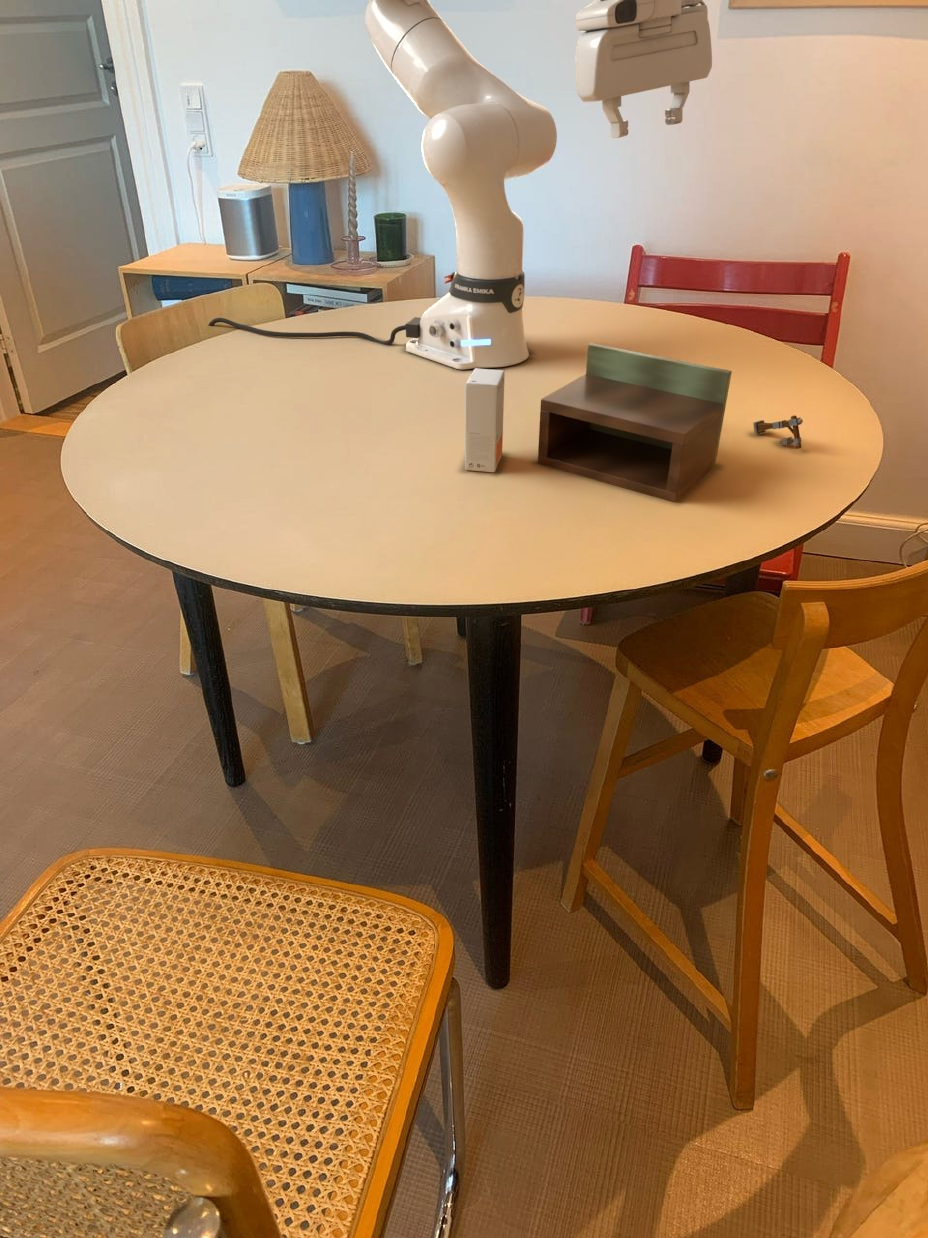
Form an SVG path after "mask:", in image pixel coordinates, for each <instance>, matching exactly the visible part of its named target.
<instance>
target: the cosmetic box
mask: <svg viewBox="0 0 928 1238" xmlns="http://www.w3.org/2000/svg"><path fill="white" fill-rule="evenodd" d="M505 373H506V371H505V370H502V369H491V368H490V369H489V368H473V371H472V372H471V373H470V375H469V376H468V378H467V381H466V382H465V394H464V398H465V399H464V402H465V403H464V405H465V406H464V408H465V410H464V415H465V416H464V469H465V470H466V471H475V472H486V473H495V472H496V470H497V468H498V465H499V463H500V460H501V459H502V456H503V440H504V439H503V438H504V435H503V434H504V411H505V409H504V407H505V404H504V402H505V375H506V374H505Z"/></svg>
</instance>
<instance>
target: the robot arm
mask: <svg viewBox="0 0 928 1238" xmlns="http://www.w3.org/2000/svg"><path fill="white" fill-rule="evenodd" d="M699 4H700V5H699ZM708 12H709V11H708V6H707V5H706V3H705V2H704V0H593V1H592V2H590V3H589V4H587V5H586V6H584V7H583V8H581V9H580V10H579V11H578V12H577V13H576V15H575V26H576V30H577V31H578V32H580V33H582V34H580V36H579V37H578V39H577V42H576V47H575V58H574V59H575V65H574V66H575V85H576V86H575V87H576V93H577V95H578V97H579V98H580V99H581V101H582V102H583V103H593V102H595V103H596V102H601V103H602V105H601V106H602V111H603V113H604V115H605V116H606V119H607V121H608V122H609V123H610V136H611V138H612V139H620V138H623V137H627V136H628V135H629V129H628V128H629V120H628V119H627V120H625V119H623V116H622V113H621V112H620V109H619V108H620V107H622V97H624V96H628V95H633V94H638V93H643V92H648V91H651V90H657V89H662V88H665V87H670V94H672V98H671V102H670V105H669V108H668V109H664V115H665V119H664V123H665V124H666V125H667V126H670V125H671V126H673V125H679V124H681V123H682V122H683V109H684V107H685V104H686V101H687V99H688V96H689V94H690V90H691V89H690V88H691V87H690V85H691V84H690V82H693V81H698V80H703V79H707V78H708V77H709V75H710V73H711V71H712V67H713V51H712V37H711V36H712V35H711V28H710V22H709V19H708ZM364 24H365V29H366V32H367V34H368V36H369V38H370V40H371V42H372V45H373V46H374V48H375V50H376V52H377V54H378V55H379V57H380V59H381V60H382V62H383V64H384V65H385V67H386V68H387V70H388V71H389V72H390V74H391V75H392V76H393V78H394V79H395V80H396V82H397V83H398V84H399V86H400V87H401V88H402V90H403V92H405V93H406V95H407V96H408V97H409V98H410V100H411V102H413V103H414V105H415V106H416V107H417V109H418V110H419V111H420V112H421V114H423V115H424V116H425V117H426V118H428V119H429V121H428V122H427V124H426V125H425V127H424V130H423V133H422V139H421V153H422V158H423V163H424V165H425V167H426V169H427V171H428V173H429V174H430V176H431V177H432V178H433V179H434V180H435V181H437V183H438V184H439V185H440V186H441V187H442V189H443V190H444V192H445V194H446V196H447V199H448V201H449V204H450V206H451V210H452V214H453V219H454V224H455V232H456V233H455V234H456V235H455V236H456V237H455V238H456V268H457V270H455V271H453V272H451V274H449V275H445V276H444V277H443V278H444V279H446V280H445V281H443V284H448V283H450V286H449V289H448V292H447V293H446V294H445V295H444V296H443V297H441V298H440V299H439V300H437V302H436V303H434V304H433V305H432V306H430V307H429V308H428V309H427V310H425V311H424V313H422V315H421V317H419V316H414V317H412V318H411V319H410V320H408V322H406V323H405V324H404V325H400V326H397V327H395V328H394V329H392V331H391V333H390V338H389V339H388V340H379V339H377V338H375V337H373V336H371V335H369V334H367V333H365V332H359V331H328V332H327V331H326V332H286V331H285V332H284V331H272V330H266V329H261V328H257V327H255V326H250V325H247V324H242V323H238V322H235V321H233V320H230V319H227V318H224V317H216V318H213V319H211V321H209V323H208V324H207V326H208V327H213V326H215V325H216V324H218V323H222V324H226V325H229V326H231V327H234V328H237V329H240V330H246V331H250V332H253V333H256V334H260V335H264V336H269V337H279V338H331V337H332V338H333V337H357V338H362V339H365V340H368V341H370V342H373V343H377V344H380V345H384V346H390V345H392V344H393V343H394V342H395V340H396V335H397V334H398V333H399V332H401V331H405V337H406V338H409V341H408V342H407V343H406V345H405V351H406V352H408V353H410V354H413V355H416V356H419V357H422V358H425V359H428V360H431V361H433V362H435V363H439V364H442V365H445V366H447V367H451V368H453V369H455V370H470V369H475V368H479V369H489V368H503V367H509V366H514V365H517V364H520V363H522V362H525V361H526V360H527V359H528V358H529V356H530V354H529V349H528V346H527V341H526V340H527V339H526V334H525V327H524V317H523V315H524V313H523V307H524V302H525V285H526V284H525V283H526V279H525V278H526V276H525V271H523V262H524V261H523V260H524V237H525V236H524V233H525V228H524V223H523V221H522V218H521V217H520V216H519V215H518V214H517V213H516V212H515V211H513V210H512V209H511V207H510V204H509V200H508V197H507V193H506V185H505V183H506V182H505V181H506V180H512V179H518V178H523V177H525V176H529V175H531V174H533V173H534V172H537V170H539V169H541V168H543V167H545V166H546V165H548V163H549V162H550V160H551V159H552V158H553V156H554V153H555V150H556V148H557V141H558V131H557V126H556V122H555V119H554V117H553V115H552V114H551V112H550V111H549V110H548V109H547V108H546V107H545V106H543V105H541V104H539V103H536V102H534V101H533V100H530V99H528V98H526V97H524V96H523V95H521V94H520V93H519V92H517V91H515V89H513V88H511V87H510V86H509V85H508V84H507V83H506V82H504V81H503V80H501V79H500V78H499V77H498V76H496V74H493V73H492V72H491V71H490V70H489V69H487V68H486V67H485V66H484V65H483V64H481V63H480V62H479V61H478V60H477V59H476V58H475V57H474V56H473V55H472V54H471V53H470V52H469V51H468V49H467V48H466V47H465V45H464V44H463V43H462V42H461V40H460V39H459V38H458V37H457V36H456V34H455V33H454V32H453V31H452V29H451V28H450V27H449V26H448V25H447V23H446V22H445V20H443V18H442V17H441V16H440V14H439V13H438V12H437V11H436V9H434V7H433V6H432V4H431V2H430V0H368V3H367V5H366V8H365V13H364Z"/></svg>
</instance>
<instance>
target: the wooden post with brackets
mask: <svg viewBox="0 0 928 1238" xmlns="http://www.w3.org/2000/svg"><path fill="white" fill-rule="evenodd" d="M803 423H804V420H803V418H801V417H798V416H797V415H791V416H790V418H789V419H788V420H787V419H784V420H780V421H774V422H765V420H764V419H761V420H757V421H753V423H752V424H753V432H754V436H756V435H760V434H764V433H767V432H766V431H768V430H779V429H784V428H787V429H788V430H789V431H790V433H791V434H792V435H793V437H792V436H788V437H783V438H780V440H779V444H780V446H791V445H794V447H795V449H797V450H798V449H802V448H803V446H802V445H803V444H802V437H801V435H800V427H799V426H800V425H802V424H803Z"/></svg>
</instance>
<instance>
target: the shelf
mask: <svg viewBox="0 0 928 1238" xmlns="http://www.w3.org/2000/svg"><path fill="white" fill-rule="evenodd" d="M585 369H586V370H585V373H584V374H583V375H581V376H580V377H578V378H576V379H574V380H572V381H571V382H569V383H566V384H565V385H564V386H562V387H560V388H557V389H556V390H555V391H553V392H551V393H549V394H548V395H546V396H544V397H543V398H541V399H540V409H539V410H540V411H539V431H538V449H537V450H538V451H537V464H538V465H543V466H546V467H549V468H553V469H557V470H559V471H563V472H567V473H570V474H574V475H578V476H581V477H585V478H588V479H592V480H596V481H599V482H603V483H606V484H610V485H613V486H617V487H620V488H624V489H627V490H630V491H635V492H638V493H642V494H644V495H648V496H652V497H655V498H659V499H663V500H665V501H670V502H673V503H676V502H677V501H678V500H679V499H680V498H682V497H683V496H684V495H685V494H686V493H687V492H688V491H689V490H690V489H691V488H692V487H693V486H695V485H696V484H697V483H699V481H701V479H703V478H704V477H705V476H706V475H707V474H708V473H709V472H711V470H713V469H714V468H715V466H716V464H717V457H718V452H719V445H720V440H721V435H722V430H723V423H724V418H725V413H726V406H727V402H728V396H729V389H730V384H731V379H732V372H733V371H732V370H729V369H724V368H719V367H715V366H709V365H703V364H699V363H693V362H689V361H683V360H678V359H673V358H668V357H663V356H659V355H653V354H648V353H644V352H639V351H634V350H633V351H632V350H628V349H624V348H619V347H618V348H617V347H613V346H608V345H603V344H599V343H598V344H597V343H594V342H590V343H589V344H588V345H587V355H586V366H585Z"/></svg>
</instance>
